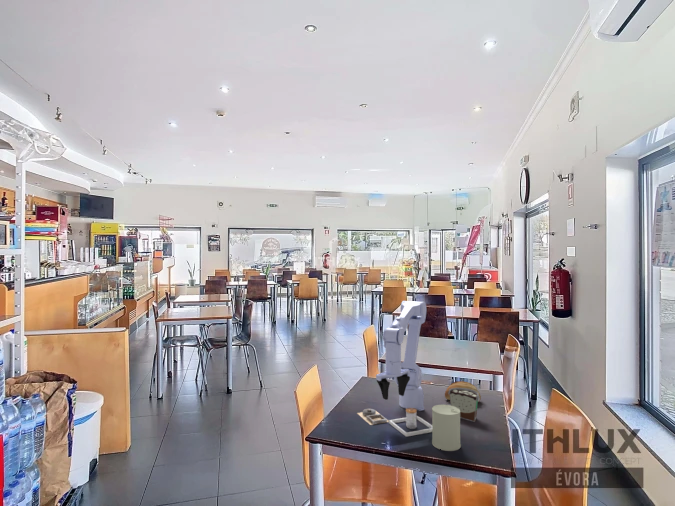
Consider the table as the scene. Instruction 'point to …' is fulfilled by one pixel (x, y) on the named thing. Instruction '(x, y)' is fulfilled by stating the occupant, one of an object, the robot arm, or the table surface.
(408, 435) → the white square frame
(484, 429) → the table surface
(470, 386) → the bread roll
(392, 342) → the robot arm
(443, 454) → the table surface
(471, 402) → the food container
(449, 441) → the can
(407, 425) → the glass shaker
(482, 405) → the table surface
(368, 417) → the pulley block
